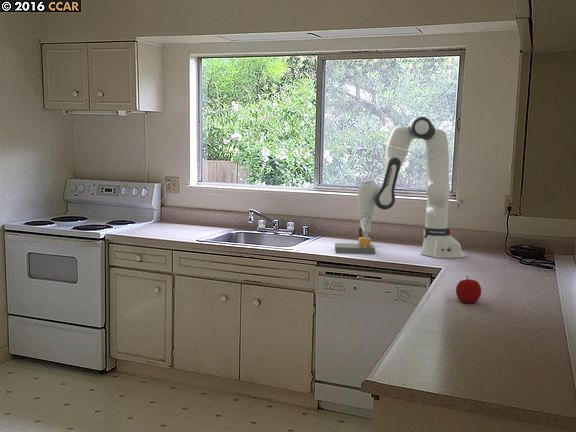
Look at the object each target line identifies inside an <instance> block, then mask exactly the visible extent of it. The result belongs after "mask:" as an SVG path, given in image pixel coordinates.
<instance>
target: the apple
mask: <svg viewBox="0 0 576 432" xmlns="http://www.w3.org/2000/svg"><path fill="white" fill-rule="evenodd" d="M465 277H466V279H461V280H460V281H459V282H458V283H457V285H456V287H455V294H456V297H457V298H458V301H460V302H461V303H464V304H465V303H466V304H473V303H477V302H478V301H479V300H480V298H481V295H482V287H481V284H480V283H479V282H478V281H477V280H475V279H469V278H468V275H465Z"/></svg>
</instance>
